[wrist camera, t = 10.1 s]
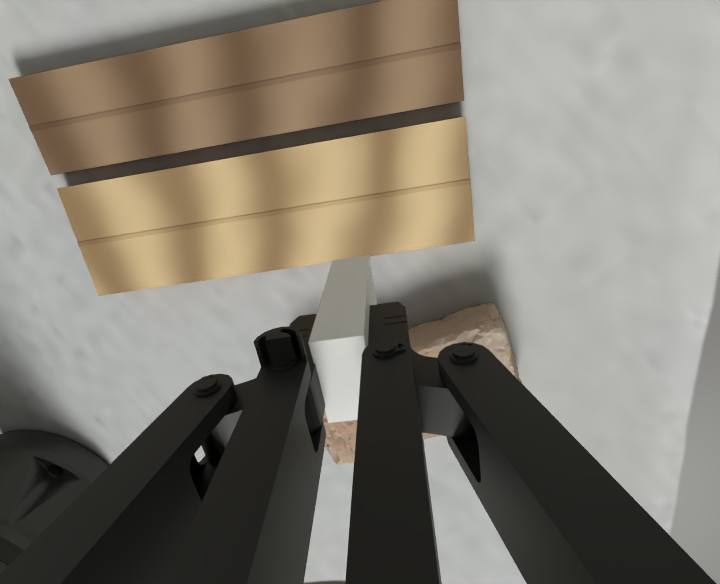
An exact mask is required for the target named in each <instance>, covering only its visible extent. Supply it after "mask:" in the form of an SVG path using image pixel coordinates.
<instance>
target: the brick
mask: <svg viewBox="0 0 720 584" xmlns="http://www.w3.org/2000/svg"><path fill="white" fill-rule="evenodd" d="M408 331H409V338H410V345H411V348H412V349H413V350H414V351H415V352H416V353H418V354H420V355H423V356H428V357H437V358H438V355H439V352H440V351H441V350H442V349H444V348H445V347H446V346H449V345H452V344H455V343H460V342H471V343H476V344H480V345H483V346H484V347H486V348H487V349H489V350H490V351H491V352H492V353H493V354H494V356H495V357H496V358H497V359H498V360H499V361H500V362H501V363H502V364H503V365H504V366H505V367H506V368H507V369H508V370H509V371H510V372H511V373H512V374H513V375H514V376H515V377H516V378H517V379H518V380H519V381H520V382H521V380H520V378H519V374H518V368H517V366H516V365H515V360H514V356H513V352H512V350H511V345H510V341H509V337H508V333H507V330H506V327H505V324H504V321H503V319H502V317H501V316H500V314H499V311H498V309H497V307H496V306H495V305H494V304H492V303H487V304H480V305H478V306H475V307H469V308H465V309H463V310H460V311H457V312H455V313H452V314H450V315H448V316H446V317H444V318H443V319H442V320H436V321H430V322H426V323H422V324H419V325H417V326H414V327H412V328H410V329H408ZM521 383H522V382H521ZM323 422H324V426H325V430H326V440H325V447H326V449H327V450H328V452H329V454H330V455H331V457H332V458H333V460H334V462H335V463H336V464H343V463H346V462H348V463H354V459H355V445H356V431H357V420H351V421H342V422H333V423H328V420H327V416H326V412H325V411H324V416H323ZM422 434H423V439H427V438H432V437H437V436H441V435H436V434H429V433H422Z"/></svg>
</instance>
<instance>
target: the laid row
mask: <svg viewBox="0 0 720 584" xmlns="http://www.w3.org/2000/svg"><path fill="white" fill-rule="evenodd" d="M9 81H10V84H11V86H12V88H13V90H14V93H15V95H16V97H17V99H18V102H19V104H20V106H21V108H22V111H23V113H24V115H25V118H26V120H27V122H28V124H29V128H30V130H31V132H32V133H33V136H34V138H35V140H36V142H37V145H38V147H39V149H40V151H41V154H42V156H43V158H44V161H45V163H46V165H47V167H48V170H49V172H50V174H51V175H55V174H61V173H66V172H72V171H77V170H83V169H89V168H94V167H100V166H105V165H111V164H116V163H122V162H127V161H133V160H138V159H144V158H149V157H155V156H160V155H166V154H171V153H177V152H183V151H188V150H194V149H199V148H205V147H210V146H216V145H221V144H227V143H232V142H238V141H243V140H249V139H254V138H260V137H266V136H271V135H277V134H282V133H288V132H293V131H299V130H304V129H310V128H315V127H321V126H326V125H332V124H337V123H343V122H348V121H354V120H360V119H365V118H371V117H376V116H382V115H387V114H393V113H398V112H404V111H409V110H415V109H420V108H426V107H431V106H437V105H443V104H448V103H454V102H459V101H464V92H463V77H462V62H461V45H460V32H459V17H458V2H457V0H383V1H379V2H374V3H369V4H364V5H360V6H355V7H350V8H345V9H340V10H336V11H331V12H326V13H321V14H317V15H312V16H307V17H302V18H298V19H293V20H288V21H283V22H278V23H274V24H269V25H264V26H259V27H255V28H250V29H245V30H240V31H236V32H231V33H226V34H221V35H216V36H212V37H207V38H202V39H197V40H193V41H188V42H183V43H178V44H174V45H169V46H164V47H159V48H154V49H150V50H145V51H140V52H135V53H131V54H126V55H121V56H116V57H112V58H107V59H102V60H97V61H92V62H88V63H83V64H78V65H73V66H69V67H64V68H59V69H54V70H50V71H45V72H40V73H35V74H30V75H26V76H21V77H16V78H11V79H9Z"/></svg>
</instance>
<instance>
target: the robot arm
mask: <svg viewBox="0 0 720 584" xmlns="http://www.w3.org/2000/svg"><path fill="white" fill-rule="evenodd" d="M254 345H255V348H256V351H257V354H258V358H259V361H260V364H261V369H260V371H259V374H258V376H257V378H255V379H253V380H250V381H247V382H244V383H241V384H238V385H234V383H233V380H232V378H231V377H230V376H229V375H225V374H215V375H214V374H213V375H208V376H205V377H203V378H201V379H200V380H198V381H196V382H194V383H193V384H191V385H190V386H189V387H188V388H187V389H186V390H185V391H184V392H183V393H182V394H181V395H180V396H179V397H178V398H177V399H176V400H175V401H174V402H173V403H172V404H171V405H170V406H169V407H168V408H167V409H166V410H165V411H163V412H162V413H161V414H160V415H159V416H158V417H157V418H156V419H155V420H154V421H153V422H152V423H151V424H150V425H149V426H148V427H147V428H146V429H145V430H144V431H143V432H142V433H141V434H140V435H139V436H138V437H137V438H136V439H135V440H134V441H133V442H132V443H131V444H130V445H129V446H128V447H127V448H126V449H125V450H124V451H123V452H122V453H121V454H120V455H119V456H118V457H117V458H116V459H115V460H114V461H113V462H112V463H111V464H110V465H109V466H108V465H107V464H106V463H105V462H104V461H103V460H102V459H100V458H99V457H98V456H97V455H95V454H94V453H92V452H91V451H90V450H88V449H86V448H85V447H83V446H81V445H79V444H77V443H75V442H73V441H71V440H69V439H66V438H63V437H60V436H57V435H54V434H50V433H45V432H39V431H12V432H7V433H3V434H0V584H303V582H304V576H305V569H306V563H307V556H308V550H309V543H310V537H311V530H312V524H313V517H314V511H315V505H316V498H317V492H318V485H319V479H320V472H321V466H322V459H323V453H324V446H325V440H326V430H325V426H324V422H323V416H324V411H325V412H326V416H327V420H328V423H333V422H342V421H351V420H357V431H356V445H355V459H354V472H353V486H352V500H351V514H350V528H349V542H348V556H347V570H346V584H442V583H441V576H440V568H439V560H438V552H437V544H436V536H435V529H434V521H433V513H432V505H431V497H430V490H429V482H428V474H427V466H426V458H425V451H424V441H423V434H422V433H429V434H436V435H443V436H447V440H448V444H449V446H450V447H451V449H452V451H453V453H454V455H455V456H456V458H457V460H458V462H459V463H460V465H461V467H462V469H463V471H464V472H465V474H466V476H467V478H468V480H469V481H470V483H471V485H472V487H473V488H474V490H475V492H476V494H477V496H478V497H479V499H480V501H481V503H482V505H483V506H484V508H485V510H486V512H487V513H488V515H489V517H490V519H491V521H492V522H493V524H494V526H495V528H496V530H497V531H498V533H499V535H500V537H501V538H502V540H503V542H504V544H505V546H506V547H507V549H508V551H509V553H510V555H511V556H512V558H513V560H514V562H515V563H516V565H517V567H518V569H519V571H520V572H521V574H522V576H523V578H524V580H525V581H526V583H527V584H716V583H715V582H714V581H713V580H712V579H711V578H710V577H709V576H708V575H707V574H706V573H705V572H704V571H703V569H702V568H701V567H700V566H699V565H698V564H697V563H696V562H695V561H694V560H693V559H692V558H691V557H690V556H689V555H688V554H687V553H686V552H685V551H684V550H683V549H682V548H681V547H680V546H679V545H678V544H677V543H676V542H675V541H674V540H673V539H672V538H671V537H670V536H669V535H668V533H667V532H666V531H665V530H664V529H663V528H662V527H661V526H660V525H659V524H658V523H657V522H656V521H655V520H654V519H653V518H652V517H651V516H650V515H649V514H648V513H647V512H646V511H645V510H644V509H643V508H642V507H641V506H640V505H639V504H638V503H637V502H636V501H635V500H634V498H633V497H632V496H631V495H630V494H629V493H628V492H627V491H626V490H625V489H624V488H623V487H622V486H621V485H620V484H619V483H618V482H617V481H616V480H615V479H614V478H613V477H612V476H611V475H610V474H609V473H608V472H607V471H606V470H605V469H604V468H603V467H602V466H601V465H600V464H599V462H598V461H597V460H596V459H595V458H594V457H593V456H592V455H591V454H590V453H589V452H588V451H587V450H586V449H585V448H584V447H583V446H582V445H581V444H580V443H579V442H578V441H577V440H576V439H575V438H574V437H573V436H572V435H571V434H570V433H569V432H568V431H567V430H566V429H565V428H564V426H563V425H562V424H561V423H560V422H559V421H558V420H557V419H556V418H555V417H554V416H553V415H552V414H551V413H550V412H549V411H548V410H547V409H546V408H545V407H544V406H543V405H542V404H541V403H540V402H539V401H538V400H537V399H536V398H535V397H534V396H533V395H532V394H531V393H530V392H529V390H528V389H527V388H526V387H525V386H524V385H523V384H522V383H521V382H520V381H519V380H518V379H517V378H516V377H515V376H514V375H513V374H512V373H511V372H510V371H509V370H508V369H507V368H506V367H505V366H504V365H503V364H502V363H501V362H500V361H499V360H498V359H497V358H496V357H495V356H494V354H493V353H492V352H491V351H490V350H489V349H487V348H486V347H484V346H483V345H480V344H476V343H471V342H460V343H455V344H452V345H449V346H446V347H445V348H444V349H442V350H441V351H440V352H439V355H438V358H437V357H428V356H423V355H420V354H418V353H416V352H415V351H414V350H413V349H412V348H411V345H410V338H409V331H408V324H407V316H406V309H405V307H404V306H403V305H402V304H401V303H399V302H392V303H385V304H377V300H376V294H375V288H374V282H373V276H372V271H371V265H370V259H369V255H366V256H359V257H353V258H346V259H339V260H333V261H332V264H331V267H330V271H329V274H328V278H327V281H326V284H325V288H324V291H323V294H322V298H321V301H320V305H319V308H318V311H317V314H312V315H304V316H299V317H298V318H296V319H295V320H294V321H293V322H292V323H291V324H290V326H289V327H279V328H275V329H272V330H269V331H267V332H264V333H263V334H261V335H260V336H258V337H257V338H256V339H255V341H254ZM201 445H202V448H203V450H204V453H205V457H204V458H203V459H202V460H201V461H200V462H199V463H198V462H197V460H196V458H195V455H194V454H195V452H196V451H197V450H198V448H199V447H200V446H201Z"/></svg>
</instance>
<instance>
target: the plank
mask: <svg viewBox="0 0 720 584" xmlns="http://www.w3.org/2000/svg"><path fill="white" fill-rule="evenodd" d="M470 184H471V183H470V172H469V159H468V147H467V134H466V121H465V117H459V118H454V119H448V120H442V121H437V122H431V123H425V124H420V125H414V126H408V127H403V128H397V129H391V130H386V131H380V132H374V133H369V134H363V135H358V136H352V137H346V138H341V139H335V140H329V141H324V142H318V143H312V144H307V145H301V146H295V147H290V148H284V149H278V150H273V151H267V152H261V153H256V154H250V155H244V156H239V157H233V158H227V159H222V160H216V161H211V162H205V163H199V164H194V165H188V166H182V167H177V168H171V169H165V170H160V171H154V172H148V173H143V174H137V175H131V176H126V177H120V178H114V179H109V180H103V181H97V182H92V183H86V184H80V185H75V186H69V187H63V188H58V189H57V190H58V193H59V195H60V198H61V200H62V203H63V205H64V208H65V211H66V213H67V216H68V218H69V221H70V223H71V226H72V229H73V231H74V234H75V236H76V239H77V241H78V245H79V247H80V249H81V252H82V254H83V257H84V259H85V262H86V264H87V267H88V270H89V272H90V275H91V277H92V280H93V282H94V285H95V288H96V290H97V293H98V295H99V296H100V295H107V294H114V293H121V292H127V291H134V290H141V289H148V288H155V287H162V286H169V285H175V284H182V283H189V282H196V281H203V280H210V279H217V278H223V277H230V276H237V275H244V274H251V273H258V272H265V271H271V270H278V269H285V268H292V267H299V266H306V265H313V264H319V263H326V262H332V261H333V260H339V259H346V258H353V257H359V256H366V255H369V256H374V255H381V254H388V253H395V252H402V251H409V250H415V249H422V248H429V247H436V246H443V245H450V244H457V243H463V242H470V241H475V236H474V223H473V210H472V198H471V185H470Z"/></svg>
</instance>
